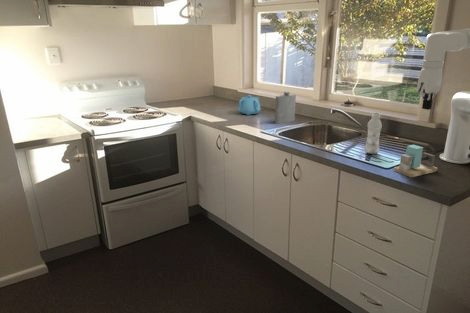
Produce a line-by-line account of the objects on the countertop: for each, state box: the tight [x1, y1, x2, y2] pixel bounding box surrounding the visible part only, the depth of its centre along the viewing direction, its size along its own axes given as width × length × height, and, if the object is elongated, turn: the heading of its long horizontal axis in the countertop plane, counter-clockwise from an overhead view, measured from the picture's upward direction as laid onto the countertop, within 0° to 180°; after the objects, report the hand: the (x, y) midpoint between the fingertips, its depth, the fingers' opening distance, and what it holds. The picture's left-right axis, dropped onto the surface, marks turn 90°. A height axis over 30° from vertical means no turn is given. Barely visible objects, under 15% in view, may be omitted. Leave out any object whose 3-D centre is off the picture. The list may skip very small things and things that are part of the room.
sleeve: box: [405, 144, 424, 168], centre depth 155 cm, size 4×5×9 cm
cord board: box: [392, 152, 438, 178], centre depth 157 cm, size 16×9×8 cm, turn 116°
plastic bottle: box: [364, 112, 383, 155], centre depth 178 cm, size 6×7×20 cm
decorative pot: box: [237, 94, 261, 116], centre depth 267 cm, size 16×16×14 cm
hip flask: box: [274, 91, 297, 124], centre depth 241 cm, size 16×4×20 cm, turn 123°
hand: (426, 108), depth 157 cm, fingers closed
